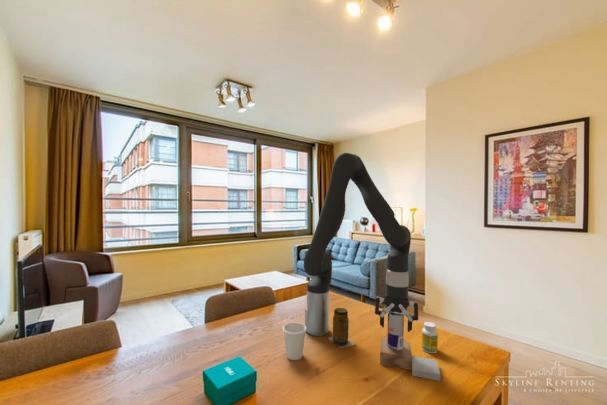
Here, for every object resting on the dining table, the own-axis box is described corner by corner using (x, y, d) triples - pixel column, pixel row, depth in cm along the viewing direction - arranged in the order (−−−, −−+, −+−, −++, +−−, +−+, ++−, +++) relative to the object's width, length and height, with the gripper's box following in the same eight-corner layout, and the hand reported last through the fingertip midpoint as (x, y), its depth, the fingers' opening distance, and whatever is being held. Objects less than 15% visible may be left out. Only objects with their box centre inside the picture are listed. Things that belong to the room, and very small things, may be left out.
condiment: (343, 334, 112) (343, 305, 112) (355, 344, 105) (356, 313, 104) (327, 338, 109) (328, 308, 109) (339, 349, 101) (339, 317, 101)
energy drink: (384, 343, 98) (385, 310, 98) (399, 342, 99) (399, 309, 98) (391, 351, 93) (391, 316, 93) (406, 350, 93) (406, 316, 93)
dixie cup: (278, 359, 94) (278, 330, 94) (288, 347, 102) (288, 320, 102) (301, 364, 92) (301, 335, 91) (309, 351, 99) (309, 324, 99)
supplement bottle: (426, 344, 105) (427, 319, 105) (440, 351, 101) (440, 325, 101) (418, 348, 102) (419, 323, 102) (432, 355, 98) (432, 329, 98)
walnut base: (380, 363, 93) (380, 352, 92) (381, 348, 102) (381, 337, 102) (411, 369, 89) (411, 357, 89) (409, 353, 99) (410, 342, 99)
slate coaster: (412, 375, 87) (412, 369, 87) (410, 361, 94) (410, 355, 94) (440, 381, 84) (440, 374, 84) (436, 365, 92) (436, 360, 92)
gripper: (375, 283, 94) (374, 330, 94) (420, 288, 90) (418, 337, 90) (376, 277, 101) (375, 320, 102) (418, 282, 97) (416, 327, 97)
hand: (395, 328), depth 96 cm, fingers open, 8 cm apart
